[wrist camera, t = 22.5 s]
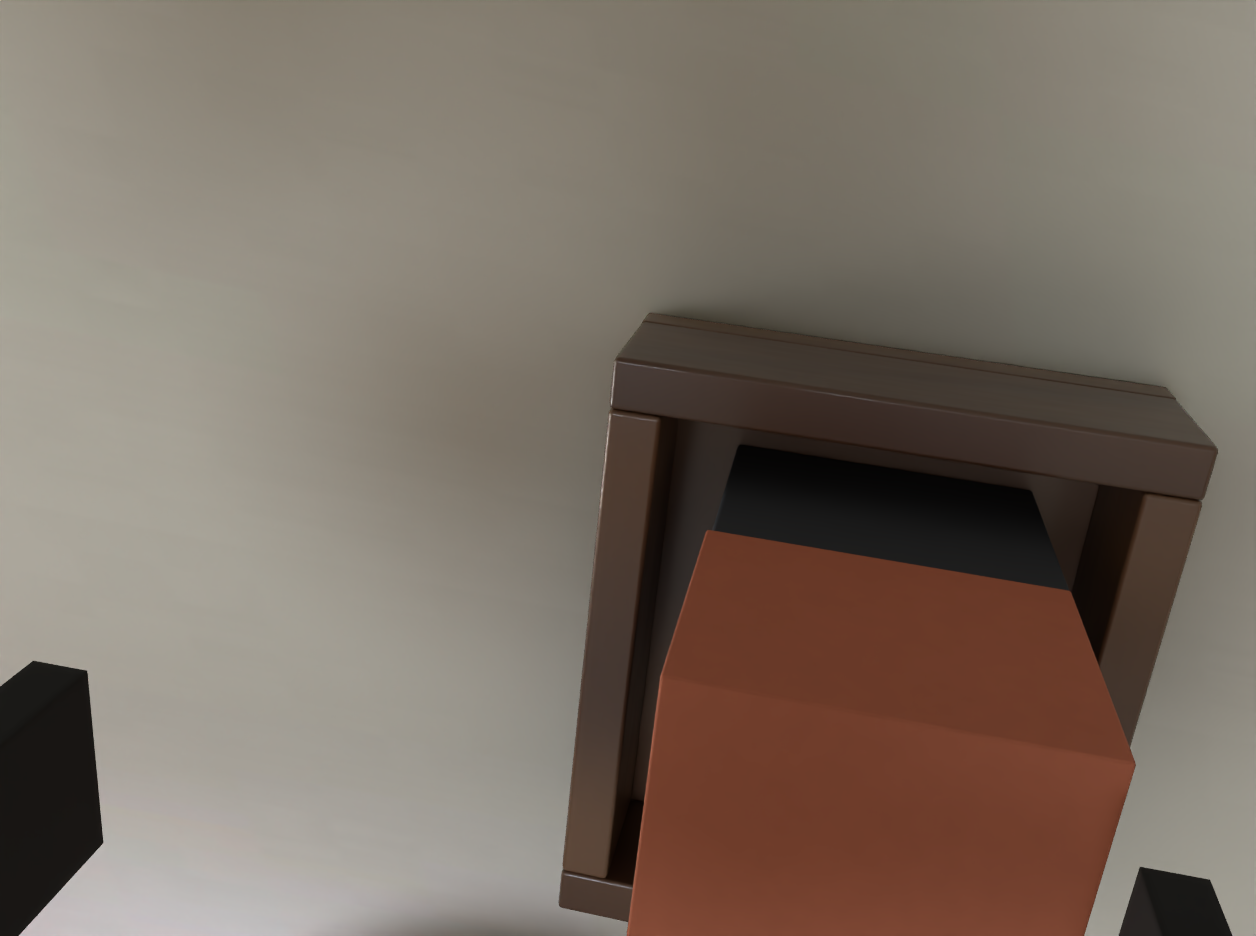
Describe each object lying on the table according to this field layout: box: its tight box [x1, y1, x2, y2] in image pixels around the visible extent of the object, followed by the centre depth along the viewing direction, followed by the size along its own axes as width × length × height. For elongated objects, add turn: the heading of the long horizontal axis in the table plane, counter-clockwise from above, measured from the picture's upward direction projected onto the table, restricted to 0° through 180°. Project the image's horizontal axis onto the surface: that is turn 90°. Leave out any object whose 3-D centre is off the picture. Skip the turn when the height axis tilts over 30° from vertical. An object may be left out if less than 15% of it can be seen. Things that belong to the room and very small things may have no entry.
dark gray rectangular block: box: [712, 445, 1069, 591], centre depth 23 cm, size 8×6×5 cm
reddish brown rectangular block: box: [627, 530, 1136, 936], centre depth 19 cm, size 8×6×5 cm
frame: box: [559, 313, 1218, 922], centre depth 25 cm, size 12×10×4 cm
